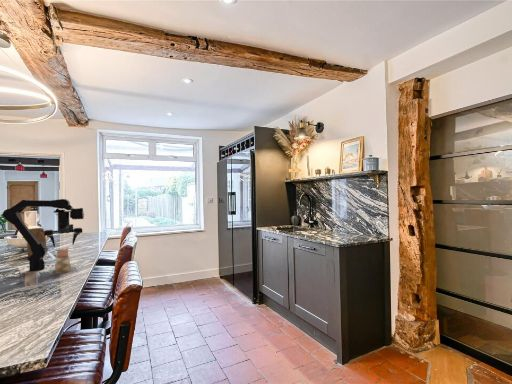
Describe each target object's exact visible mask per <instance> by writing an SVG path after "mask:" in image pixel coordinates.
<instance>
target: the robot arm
mask: <svg viewBox="0 0 512 384" xmlns="http://www.w3.org/2000/svg"><path fill="white" fill-rule="evenodd" d="M27 207H37V208H39V207H43V208H46V207H50V208H55V210H54V211H53V213H54V214H55V213H57V230H53V229H44V236H45V237H46V236H47V238H49V239H50V240H51V243H52V246H53V248H55V247H56V244H55V237H54V235H55V234H56V235H57V234H58V235H61V234H70V233H72V243H71V244H72V246H74V244H75V242H76V240H77V237H78V235H81V234H82V233H83V228H81V227H74V224H71V223H70V219H72V220H84V218H85V217H84V216H85V213H84V208H83V207H80V208H74V207H73V206H72V205H71V202H70V201H69V200H68V199H67V198H61V199H53V200H45V199H44V200H39V199H38V200H36V199H34V200H33V199H22V200H20V201H19V202H17V204H15V205H13V206H12V207H10V208H7V209H4V211H3V212H2V217H3V218H4V219H5V220H6V221H7V222H9V223H10V224H12V225H13V226H14V227H15V228H16V230H17V231H18V232H19V233H20V234H21V236H22V237H23V239H24V240H25V242H26V244H27V243H28V244H29V245H30V248H31V252H32V255H31V256H30V257H29V256H28V257H27V260H28V263H29V268H28V269H29V270H28V272H29V273H32V272H38V271H44V269H45V260H44V257H45V256H46V255H47V254H48V252H49V249H48V245H47V244H46V245H45V243H44V242H42V243H40V242H39V241H38V240H37V239H36V238H35V236H34V235H33V234H32V233H31V231H30V230H29V229H30V228H29V227H28V226H27V225H26V223H25V222H24V220H23V218H22V214H21V213H22V212H23V211H24V210H25V209H26V208H27Z"/></svg>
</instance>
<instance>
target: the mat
mask: <svg viewBox="0 0 512 384" xmlns="http://www.w3.org/2000/svg"><path fill="white" fill-rule="evenodd" d="M75 272H78V269H77V267H76V266H71V271H67V272H60V273H56V272H55V268H53V269H48V275H49V276H53V275H60V274H61V275H62V274H69V273H75Z"/></svg>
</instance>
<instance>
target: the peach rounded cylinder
mask: <svg viewBox="0 0 512 384" xmlns="http://www.w3.org/2000/svg"><path fill="white" fill-rule="evenodd" d="M56 251H57V252H56V256H57V257H58V258H62V257H68V255H69V248H60V249H57V250H56Z"/></svg>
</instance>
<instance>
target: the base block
mask: <svg viewBox="0 0 512 384" xmlns="http://www.w3.org/2000/svg"><path fill="white" fill-rule="evenodd" d="M71 267H72V263H71V262H70V264H65V265H57V264H56V262H55V264H54V269H55V272H56V273H60V272H67V271H71Z"/></svg>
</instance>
